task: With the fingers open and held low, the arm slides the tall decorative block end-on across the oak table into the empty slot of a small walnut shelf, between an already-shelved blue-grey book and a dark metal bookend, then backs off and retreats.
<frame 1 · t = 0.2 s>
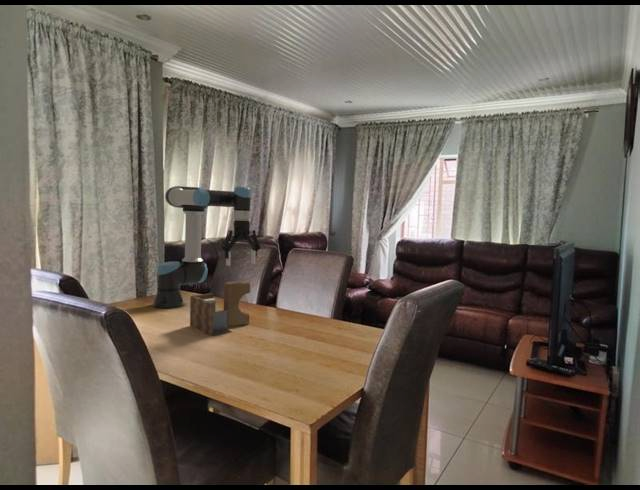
hand: (240, 264, 196), 28 cm above the table, fingers open, 13 cm apart
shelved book: (205, 325, 190), on the table
bookend: (217, 331, 182), on the table
shelf: (211, 328, 186), on the table
decorative block: (236, 324, 194), on the table
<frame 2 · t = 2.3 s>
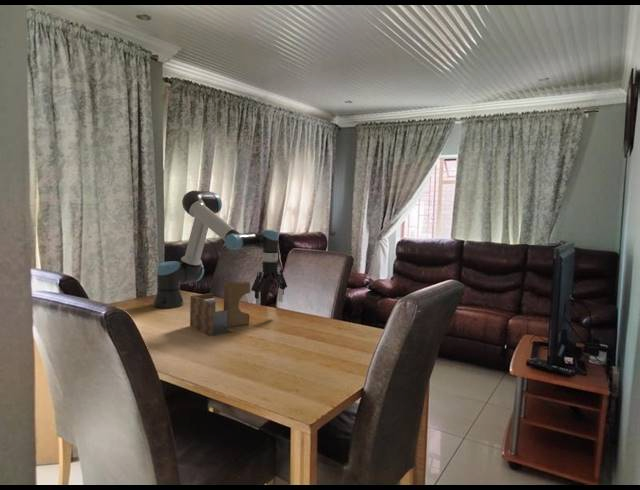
hand: (269, 303, 206), 8 cm above the table, fingers open, 13 cm apart
nothing on the table moved.
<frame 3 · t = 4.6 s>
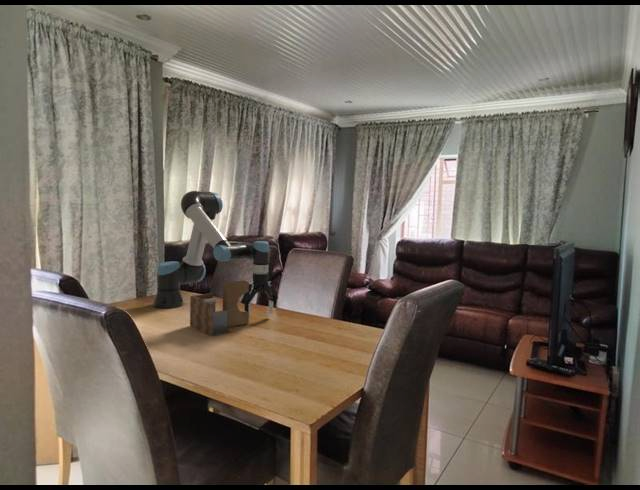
hand: (259, 315, 203), 2 cm above the table, fingers open, 13 cm apart
decorative block: (235, 324, 194), on the table, touching gripper, hand
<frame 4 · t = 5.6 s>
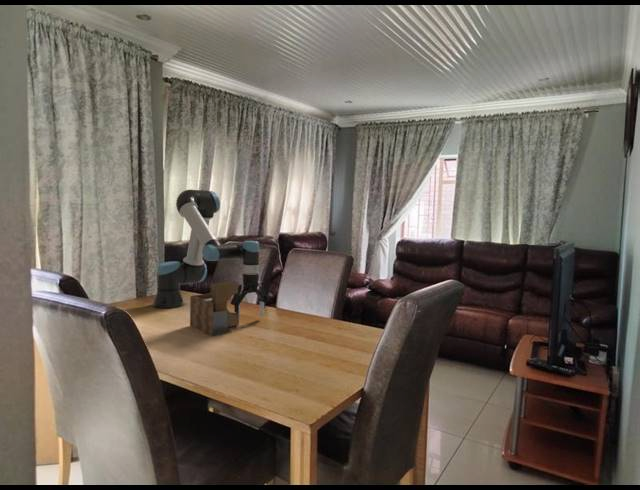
hand: (250, 316, 199), 2 cm above the table, fingers open, 13 cm apart
decorative block: (225, 326, 190), on the table, touching gripper, hand
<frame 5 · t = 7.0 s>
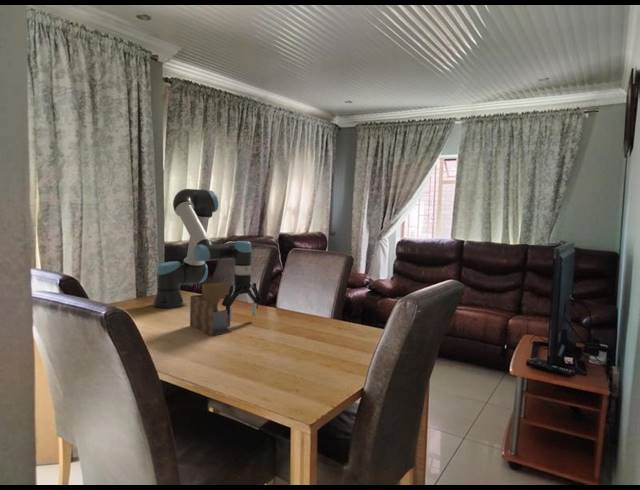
hand: (242, 318, 196), 3 cm above the table, fingers open, 13 cm apart
decorative block: (216, 327, 188), on the table, touching gripper, hand
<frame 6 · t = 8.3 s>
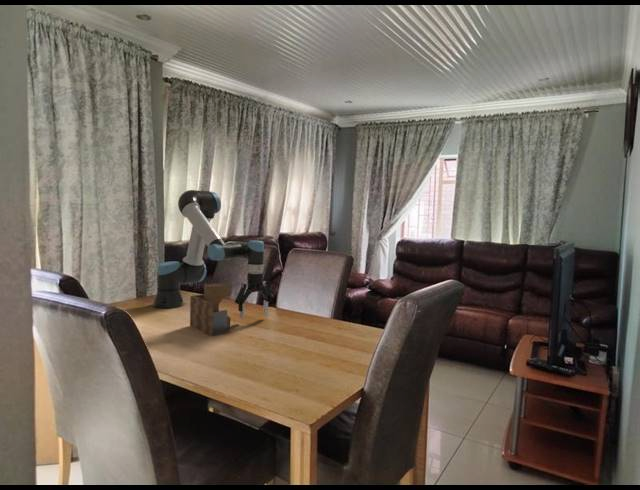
hand: (253, 315, 201), 3 cm above the table, fingers open, 13 cm apart
decorative block: (216, 328, 188), on the table
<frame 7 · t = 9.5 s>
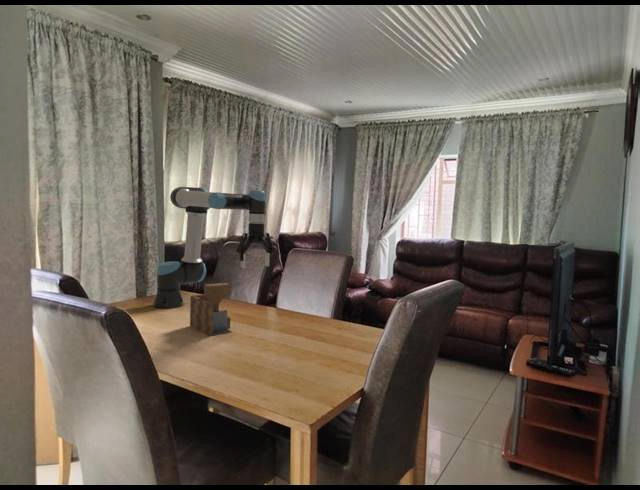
hand: (255, 266, 199), 27 cm above the table, fingers open, 13 cm apart
nothing on the table moved.
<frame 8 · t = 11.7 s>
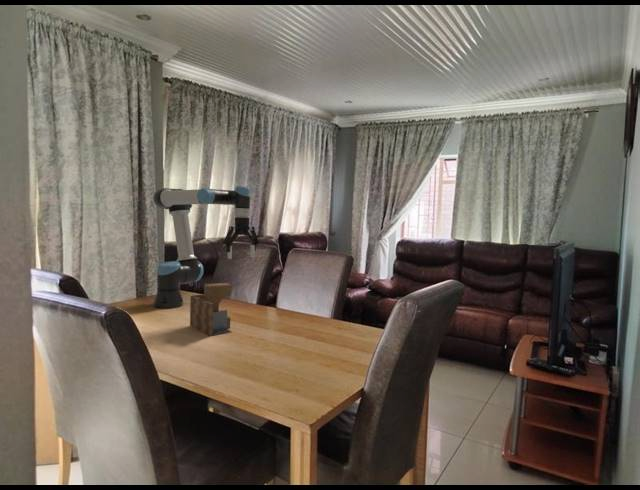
hand: (241, 258, 214), 29 cm above the table, fingers open, 13 cm apart
nothing on the table moved.
at the end: decorative block 0.3 cm from the target spot, on the table; decorative block tilted 0°; decorative block moved 10.0 cm from its start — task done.
